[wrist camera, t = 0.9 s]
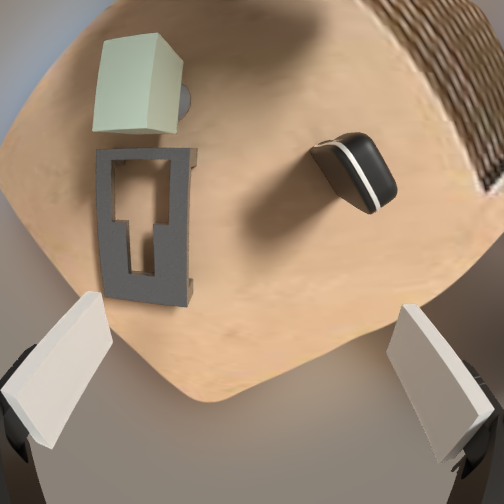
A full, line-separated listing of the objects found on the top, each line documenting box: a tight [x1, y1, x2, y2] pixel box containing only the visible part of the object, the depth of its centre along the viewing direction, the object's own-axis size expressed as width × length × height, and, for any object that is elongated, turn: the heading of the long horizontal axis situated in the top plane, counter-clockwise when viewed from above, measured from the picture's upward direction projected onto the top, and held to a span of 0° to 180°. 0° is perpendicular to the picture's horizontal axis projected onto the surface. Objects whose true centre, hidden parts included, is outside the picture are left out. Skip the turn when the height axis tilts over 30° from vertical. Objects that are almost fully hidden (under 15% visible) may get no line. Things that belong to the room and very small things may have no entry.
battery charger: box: [310, 132, 397, 214], centre depth 27 cm, size 7×4×11 cm, turn 35°
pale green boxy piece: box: [92, 32, 191, 135], centre depth 24 cm, size 8×6×12 cm
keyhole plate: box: [96, 148, 197, 307], centre depth 33 cm, size 18×11×4 cm, turn 175°
